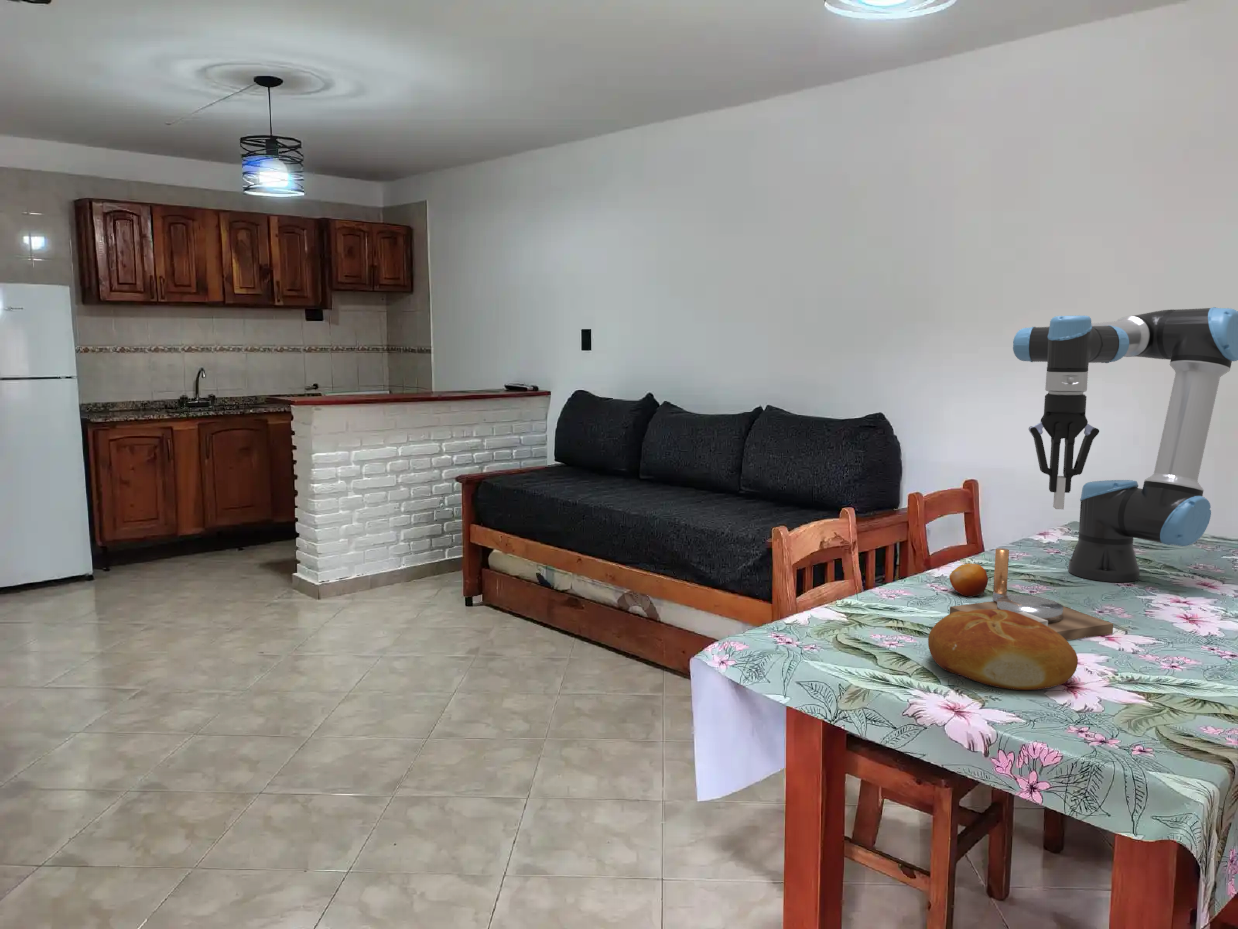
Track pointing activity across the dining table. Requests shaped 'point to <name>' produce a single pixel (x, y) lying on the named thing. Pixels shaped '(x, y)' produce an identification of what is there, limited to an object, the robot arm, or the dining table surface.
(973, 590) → the fruit
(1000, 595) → the cam disc
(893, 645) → the dining table surface
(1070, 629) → the board
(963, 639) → the bread
